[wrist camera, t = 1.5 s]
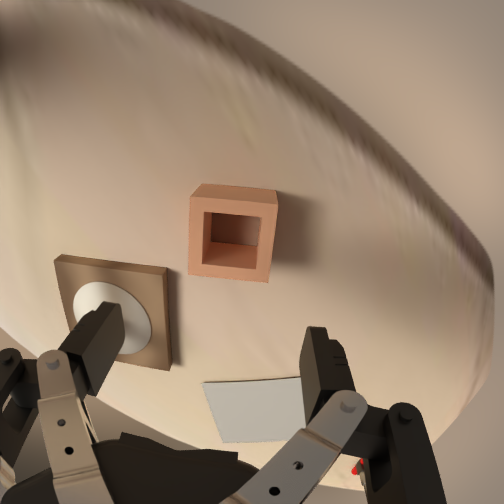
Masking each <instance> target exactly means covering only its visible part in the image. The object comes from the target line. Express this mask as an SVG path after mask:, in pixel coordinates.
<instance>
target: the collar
mask: <svg viewBox="0 0 504 504" xmlns="http://www.w3.org/2000/svg"><path fill="white" fill-rule="evenodd" d="M212 212H214V213H224V214H235V215H245V216H255V217H260V225H259V234H258V243H257V246H250V245H240V244H230V243H219V242H211V227H212ZM277 212H278V200H277V194H276V190H266V189H257V188H247V187H236V186H225V185H213V184H201V185H200V186H199V187H198V188H197V190H196V191H195V192H194V193H193V194H192V195H191V196H190V214H189V266H188V275H197V276H206V277H216V278H225V279H235V280H245V281H255V282H265V283H268V280H269V273H270V266H271V258H272V251H273V243H274V235H275V228H276V220H277Z"/></svg>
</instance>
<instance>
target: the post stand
mask: <svg viewBox="0 0 504 504" xmlns="http://www.w3.org/2000/svg"><path fill="white" fill-rule="evenodd" d="M54 265H55V271H56V276H57V281H58V285H59V290H60V295H61V299H62V303H63V307H64V311H65V315H66V319H67V323H68V326H69V330H70V332H71V331H72V330H73V328H74V327H75V326H76V324H78V322H79V320H80V319H81V318H82V317H83V315H85V314H87V313H88V312H90V311H91V310H95V311H96V309H97V308H98V307H99V305H100V304H101V303H102V302H103V301H107V302H113V303H119V304H120V305H121V309H122V315H123V322H124V328H125V340H124V344H123V346H122V348H121V350H120V352H119V353H118V355H117V357H116V359H115V361H119V362H123V363H128V364H133V365H138V366H143V367H148V368H154V369H159V370H165V371H170V368H171V365H172V352H171V340H170V326H169V309H168V288H167V268H164V267H156V266H147V265H139V264H131V263H123V262H115V261H107V260H99V259H91V258H84V257H76V256H69V255H62V254H61V255H60V256H59V257H57V258H56V259H55V260H54Z"/></svg>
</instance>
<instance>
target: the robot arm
mask: <svg viewBox="0 0 504 504" xmlns="http://www.w3.org/2000/svg"><path fill="white" fill-rule="evenodd" d="M124 340H125V328H124V322H123V315H122V309H121V305H120V304H119V303H113V302H107V301H103V302H102V303H101V304H100V305H99V307H98V308H97V309H96V311H95V310H91V311H90V312H88V313H87V314H85V315H83V317H82V318H81V319H80V320H79V322H78V324H76V326H75V327H74V328H73V330H72V331H71V332H70V333H69V335H68V336H67V337H66V339H65V340H64V341H63V343H62V344H61V346H60V347H59V348H58V350H50V351H47V352H45V353H43V354H42V355H41V356H40V357H39V358H38V359H23V358H22V356H21V354H20V352H19V351H18V350H17V349H14V348H7V349H3V350H2V351H0V504H303V502H304V501H305V500H306V499H307V498H308V496H309V495H310V494H311V493H312V491H313V490H314V489H315V487H316V486H317V485H318V484H319V482H320V481H321V480H322V478H323V477H324V476H325V475H326V473H327V472H328V471H329V469H330V468H331V467H332V465H333V464H334V462H335V461H336V460H337V458H338V457H339V456H340V454H341V453H342V454H346V455H351V456H355V457H360V458H362V459H363V466H364V474H365V482H366V490H367V499H368V504H447V503H446V498H445V494H444V490H443V486H442V482H441V478H440V474H439V471H438V467H437V463H436V460H435V456H434V453H433V450H432V446H431V443H430V440H429V436H428V433H427V430H426V427H425V424H424V421H423V418H422V415H421V413H420V411H419V410H418V409H417V408H416V407H415V406H413V405H411V404H409V403H404V402H400V403H396V404H394V405H393V406H391V408H390V409H389V410H386V409H382V408H377V407H373V406H370V405H368V404H367V402H366V400H365V399H364V397H363V396H362V395H360V394H359V393H357V392H356V389H355V386H354V382H353V379H352V375H351V372H350V368H349V366H348V361H347V359H346V354H345V351H344V348H343V347H342V345H341V344H340V343H339V342H338V341H337V340H331V339H329V337H328V333H327V330H326V328H325V327H312V326H308V327H307V330H306V334H305V338H304V342H303V346H302V350H301V354H300V361H299V368H300V377H301V386H302V395H303V404H304V414H305V423H306V428H304V429H303V428H301V429H299V430H298V431H297V432H296V433H295V434H294V436H293V437H292V438H291V439H290V440H289V441H288V442H287V443H286V444H285V445H284V446H283V447H282V448H281V449H280V450H279V451H278V452H277V454H276V455H275V456H274V457H273V458H272V459H271V460H270V461H269V462H268V463H267V464H266V465H265V466H264V467H263V468H261V469H260V470H259V469H257V468H256V467H254V466H252V465H250V464H248V463H246V462H243V461H240V460H238V452H230V451H221V450H212V449H201V450H181V451H179V450H174V449H171V448H169V447H166V446H164V445H162V444H159V443H158V442H155V441H153V440H151V439H149V438H145V437H140V436H136V435H132V434H128V433H124V432H122V433H121V436H120V439H111V440H104V441H101V442H99V441H98V438H97V436H96V434H95V431H94V428H93V425H92V422H91V419H90V416H89V413H88V410H87V407H86V404H85V401H84V398H85V396H86V394H88V395H92V396H95V397H96V396H97V394H98V392H99V390H100V388H101V386H102V384H103V382H104V380H105V378H106V376H107V374H108V372H109V370H110V368H111V367H112V365H113V363H114V361H115V359H116V357H117V355H118V353H119V352H120V350H121V348H122V346H123V344H124ZM9 394H10V395H11V396H12V398H11V399H10V401H9V402H8V405H7V406H6V408H5V410H4V411H3V413H2V407H3V404H4V403H5V401H6V399H7V398H8V396H9ZM38 413H39V415H40V421H41V426H42V431H43V435H44V441H45V445H46V449H47V453H48V458H49V461H50V465H51V467H50V468H48V469H46V470H44V471H42V472H40V473H38V474H36V475H34V476H32V477H30V478H28V479H26V480H24V481H22V482H20V483H17V484H16V483H15V474H14V470H13V466H14V464H15V462H16V460H17V457H18V455H19V453H20V450H21V448H22V446H23V444H24V442H25V440H26V438H27V435H28V433H29V431H30V429H31V427H32V425H33V423H34V421H35V419H36V417H37V415H38Z"/></svg>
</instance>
